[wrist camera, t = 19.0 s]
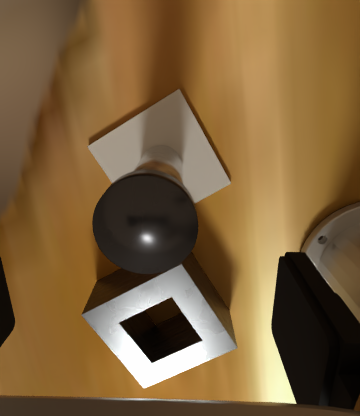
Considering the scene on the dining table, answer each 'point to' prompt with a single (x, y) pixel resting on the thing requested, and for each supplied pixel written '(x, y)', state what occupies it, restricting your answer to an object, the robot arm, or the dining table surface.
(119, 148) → the pad
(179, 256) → the steel peg
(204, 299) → the chuck block
